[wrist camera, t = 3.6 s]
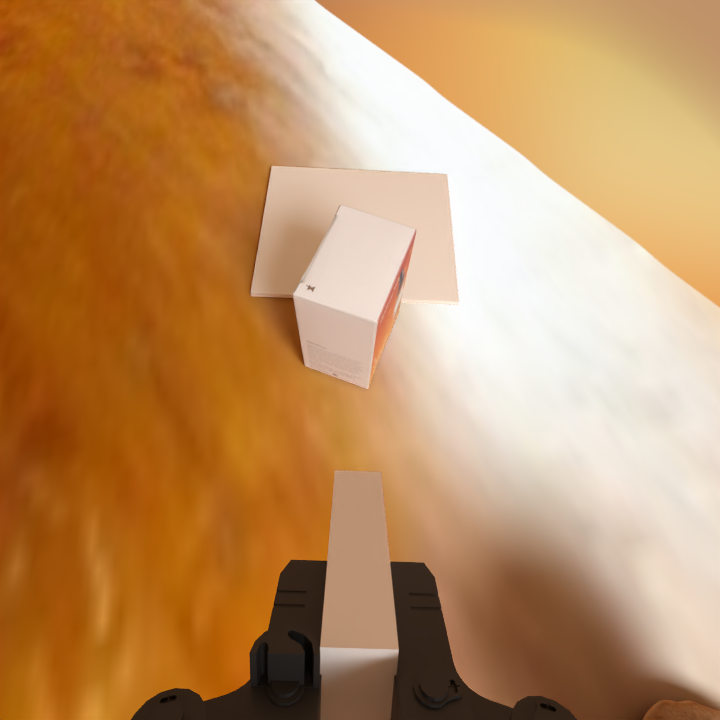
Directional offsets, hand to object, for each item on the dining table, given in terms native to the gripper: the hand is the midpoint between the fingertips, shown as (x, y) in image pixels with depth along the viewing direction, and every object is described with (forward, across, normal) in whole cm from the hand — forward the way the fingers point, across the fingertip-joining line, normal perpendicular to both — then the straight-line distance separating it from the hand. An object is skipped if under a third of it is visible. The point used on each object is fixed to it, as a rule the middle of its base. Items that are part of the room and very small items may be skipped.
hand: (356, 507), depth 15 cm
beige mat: (+33, 0, +8) cm, 34 cm away
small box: (+24, 0, 0) cm, 24 cm away
